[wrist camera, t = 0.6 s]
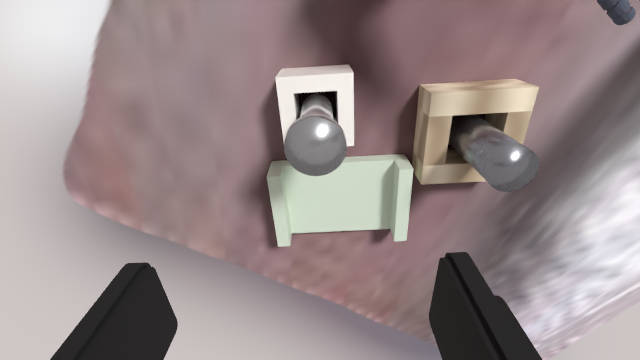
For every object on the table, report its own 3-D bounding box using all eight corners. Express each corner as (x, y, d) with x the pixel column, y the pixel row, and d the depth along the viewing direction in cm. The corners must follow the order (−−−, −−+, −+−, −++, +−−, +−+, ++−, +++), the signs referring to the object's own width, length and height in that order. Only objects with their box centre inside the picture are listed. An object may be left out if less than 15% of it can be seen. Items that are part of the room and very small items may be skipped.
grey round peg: (480, 108, 33) (545, 146, 24) (473, 142, 35) (531, 190, 26) (444, 110, 33) (494, 149, 24) (439, 144, 35) (483, 192, 26)
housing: (348, 64, 31) (353, 72, 27) (349, 129, 34) (353, 145, 30) (281, 68, 31) (275, 77, 27) (289, 132, 35) (284, 149, 30)
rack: (404, 153, 36) (413, 168, 32) (399, 221, 41) (406, 240, 37) (271, 161, 36) (266, 176, 33) (281, 226, 41) (278, 246, 38)
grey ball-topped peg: (338, 85, 29) (346, 116, 20) (339, 129, 31) (347, 174, 22) (292, 87, 29) (280, 119, 20) (297, 131, 31) (287, 177, 22)
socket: (515, 78, 32) (539, 86, 28) (494, 163, 37) (512, 179, 33) (419, 84, 32) (431, 93, 29) (411, 168, 37) (421, 184, 33)
